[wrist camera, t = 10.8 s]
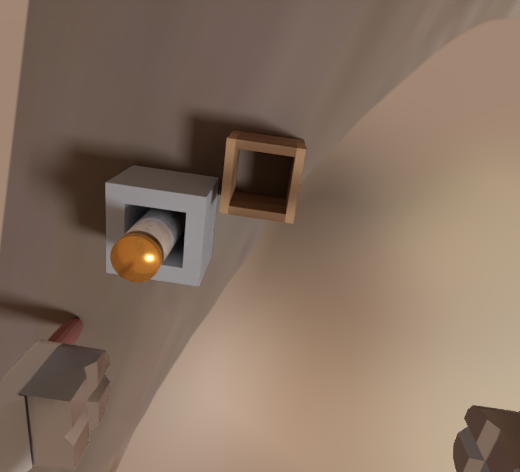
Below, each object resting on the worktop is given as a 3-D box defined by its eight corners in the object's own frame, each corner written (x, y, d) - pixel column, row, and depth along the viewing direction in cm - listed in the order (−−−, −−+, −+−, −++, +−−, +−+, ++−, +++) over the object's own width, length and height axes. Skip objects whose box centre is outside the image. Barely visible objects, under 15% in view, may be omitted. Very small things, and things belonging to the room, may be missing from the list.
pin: (155, 191, 44) (109, 234, 32) (192, 197, 44) (159, 241, 32) (154, 226, 45) (110, 278, 34) (190, 232, 45) (158, 285, 34)
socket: (133, 165, 43) (105, 182, 36) (219, 177, 42) (206, 197, 36) (132, 244, 46) (106, 272, 40) (211, 255, 46) (199, 286, 39)
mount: (233, 129, 41) (226, 137, 36) (304, 140, 41) (306, 149, 36) (226, 197, 43) (219, 212, 39) (292, 207, 43) (293, 223, 39)
